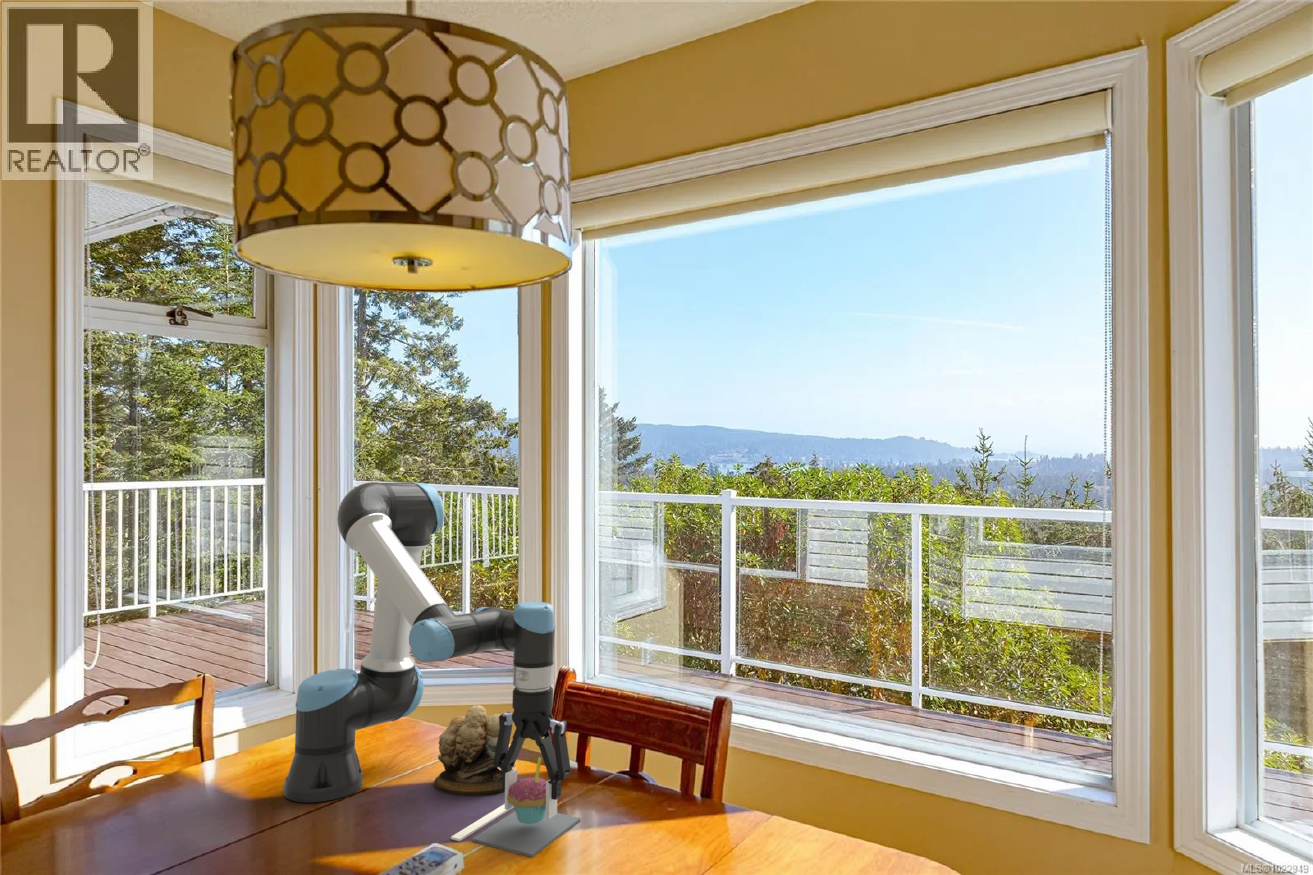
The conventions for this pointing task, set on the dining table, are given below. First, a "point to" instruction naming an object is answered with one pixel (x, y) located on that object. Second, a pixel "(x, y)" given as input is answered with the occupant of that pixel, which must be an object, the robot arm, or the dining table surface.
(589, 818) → the dining table surface
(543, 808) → the cupcake
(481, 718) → the owl figurine
